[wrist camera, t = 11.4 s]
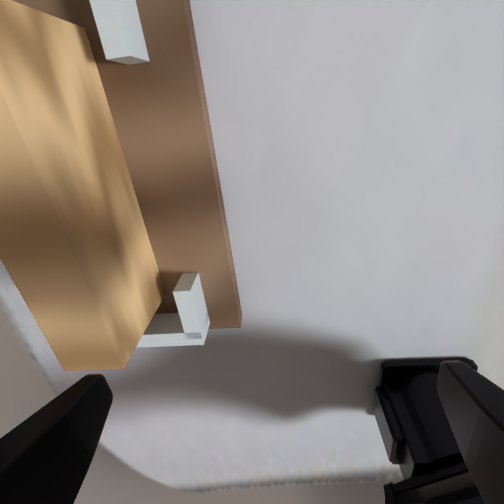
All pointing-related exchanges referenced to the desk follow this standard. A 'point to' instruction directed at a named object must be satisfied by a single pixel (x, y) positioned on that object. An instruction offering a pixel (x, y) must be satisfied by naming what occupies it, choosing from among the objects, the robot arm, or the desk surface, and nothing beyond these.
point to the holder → (165, 155)
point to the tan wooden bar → (69, 197)
